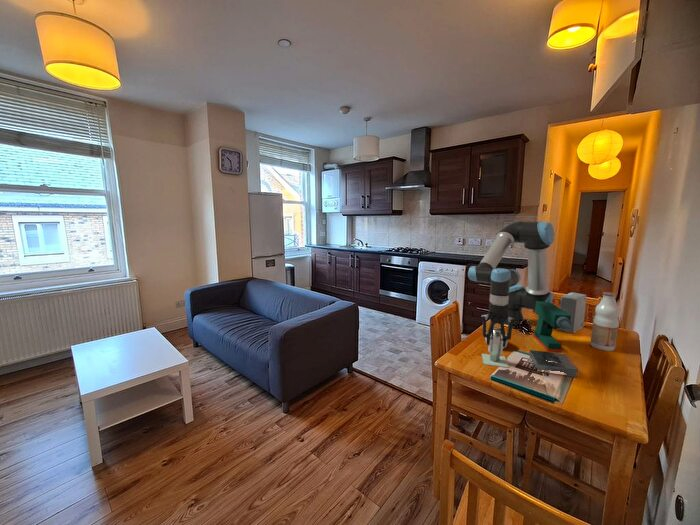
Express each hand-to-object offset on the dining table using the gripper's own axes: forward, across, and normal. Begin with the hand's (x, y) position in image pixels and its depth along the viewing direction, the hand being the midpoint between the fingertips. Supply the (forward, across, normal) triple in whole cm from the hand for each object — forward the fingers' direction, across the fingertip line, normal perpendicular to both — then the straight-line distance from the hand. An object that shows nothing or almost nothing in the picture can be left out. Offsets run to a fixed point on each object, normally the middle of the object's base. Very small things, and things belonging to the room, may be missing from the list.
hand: (495, 352), depth 133 cm
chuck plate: (+4, +23, +2) cm, 23 cm away
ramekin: (+5, +3, +18) cm, 19 cm away
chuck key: (+4, 0, 0) cm, 4 cm away
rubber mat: (+4, 0, 0) cm, 4 cm away
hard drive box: (+5, +47, +54) cm, 72 cm away
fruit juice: (+5, +53, +31) cm, 62 cm away
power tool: (+5, +29, +21) cm, 36 cm away
